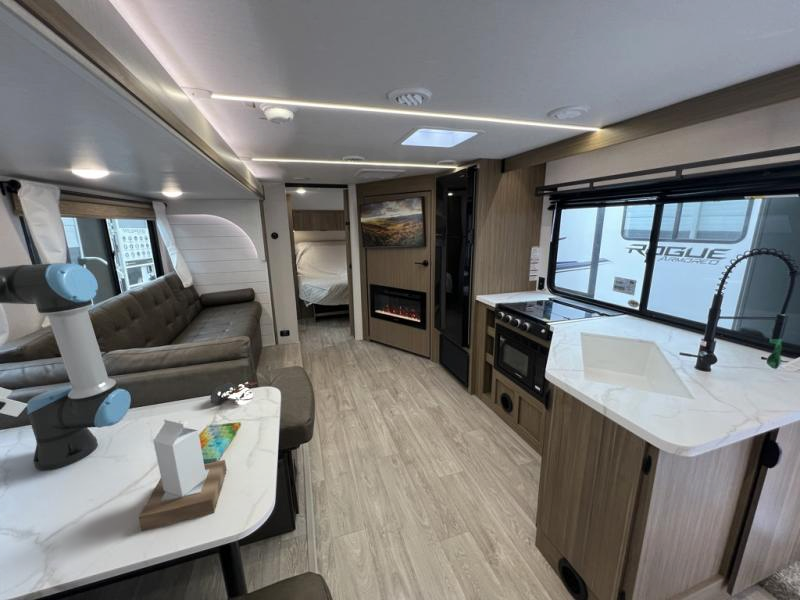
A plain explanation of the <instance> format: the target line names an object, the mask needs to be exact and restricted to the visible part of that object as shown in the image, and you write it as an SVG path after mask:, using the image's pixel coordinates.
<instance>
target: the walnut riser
mask: <svg viewBox="0 0 800 600" xmlns="http://www.w3.org/2000/svg"><path fill="white" fill-rule="evenodd" d="M204 467H205V472H206V479H205V480H203V481H202V482H201V483H199V484H198V485H197V486H196V487H194V488H193V489H192V490H191V491H189V492H188V493H187V494H185V495H184V496H183V497H180V496H178V495H175V494H172V493H169V492H166V491H164V489H163V484H162V480H161V477H160V479H159V481H158V482H157V484H156V486H155V488H154V489H153V491H152V493H151V494H150V496H149V498H148V499H147V501H146V503H145V504H144V506H143V508H142V510H141V512H140V514H139V515H138V516H137V517H138V522H139V526H140V531H142V532H143V531H147V530H151V529H154V528H158V527H162V526H167V525H171V524H175V523H178V522H182V521H186V520H190V519H194V518H197V517H202V516H207V515H211V514H214V513H215V511H216V508H217V504H218V502H219V499H220V495H221V492H222V490H223V489H222V488H223V485H224V482H225V479H224V478H226V476H227V473H226V471H228V469H227V464H226V459H222V460H221V459H220V460H219V461H217V462H212V463H207V464H204ZM225 475H226V476H225Z"/></svg>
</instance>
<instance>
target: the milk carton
mask: <svg viewBox="0 0 800 600" xmlns="http://www.w3.org/2000/svg"><path fill="white" fill-rule="evenodd" d="M163 421H164V423H163V425H162V426H161V428H160V430H159V432H158V433H156V436H155V438H153V445H154V450H155V454H156V459H157V465H158V469H159V473H160V478H161V480H162V484H163V489H164V491H166V492H169V493H172V494H175V495H178V496H180V497H183V496H184V495H185V494H187V493H188V492H189V491H191V490H192V489H193V488H194V487H196V486H197V485H198V484H199V483H201V482H202V481H203V480H205V479H206V472H205V467H204V461H203V455H202V450H201V444H200V439H199V435H200V434H199V430H198V429H195V428H191V427H188V425H189V422H187V421H180V420H179V422H178V421H174V420H171V419H163Z"/></svg>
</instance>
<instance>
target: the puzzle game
mask: <svg viewBox="0 0 800 600" xmlns="http://www.w3.org/2000/svg"><path fill="white" fill-rule="evenodd" d="M241 426H242V422H241V421H240V422H239V421H238V422H227V423H218V424H207V425H206V426H205V427H204V429H203V430H202V431H201V432H200V434H199V439H200V444H201V450H202V455H203V461H204V464H207V463H212V462H217V461H221V458H222V456H223V455H224V454H225V452H226V451H227V449H228V447H229V446H230V445H231V443H232V442H233V440H234V438H235V437H236V436H237V432H238V431H239V429H241Z"/></svg>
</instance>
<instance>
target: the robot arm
mask: <svg viewBox="0 0 800 600" xmlns="http://www.w3.org/2000/svg"><path fill="white" fill-rule="evenodd" d="M98 290H99V287H98V281H97V279H96V277H95V276H94V274H93V273H92V272H91V271H90V270H89V269H87V267H86V268H85V267H84V266H82V265H81V264H78V263H77V264H76V263H65V262H54V263H40V264H39V263H37V264H19V265H10V266H3V267H1V266H0V304H15V305H17V304H18V305H35V306H36V308H37V309H36V310H37V311H38V314H40V315H43V316H45V317H47V318H48V320H49V324H50V327H51V329H52V333H53V335H54V338H55V341H56V344H57V347H58V350H59V352H60V355H61V358H62V360H63V364H64V365H63V366H64V367H65V370H66V373H67V376H68V379H69V382H70V385H65V386H61V387H58V388H54V389H50V390H47V391H45V392H42V393H40V394H38V395H36V396H34V397H32V398H30V399H28V401H27V403H26V402H22V401H18V400H14V399H9V398H8V397H9V396H10V395H11V394H12V392H13V390H12V389H7V388H3V387H0V414H3V415H8V416H12V417H16V418H17V417H18V416H19V415H20V414H21V413H22V412H23V411H24V410H25V408H26V409H27V413H26V414H27V415H28V418H29V423H30V425H31V429H32V431H33V434H34V439H35V441H36V445H35V451H34V455H33V466H34V469H36V470H37V471H51V470H56V469H60V468H63V467H66V466H69V465H71V464H73V463H76V462H78V461H81V460H82V459H84V458H85V457H88V456H89V455H90V454H92V453H93V452H94V451H95V450H96V449H97V448H98V446H99V444H98V439H97V437H96V436H95V435H94V434H93V433H92V431H91V430H90V429H89V428H100V429H101V428H104V427H110V426H114V425H116V424H118V423H120V421H122V420H123V419H124V418H125V416H127V413H128V411H129V409H130V406H131V402H132V400H131V399H132V398H131V394H130V392H129V391H128V390H126V389H123V388H119V387H118V384H117V382H116V380H115V379H114V378H110V377H109V376H108V372H107V370H106V369H107V368H106V366H105V363H104V359H103V357H102V354H101V349H100V346H99V343H98V340H97V338H96V334H95V330H94V327H93V324H92V320H91V317H90V314H89V311H88V310H89V308H91V306H92V305H93V302H92V300H93V299H94V298H95V297H96V295H97V293H98V292H97V291H98Z"/></svg>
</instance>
